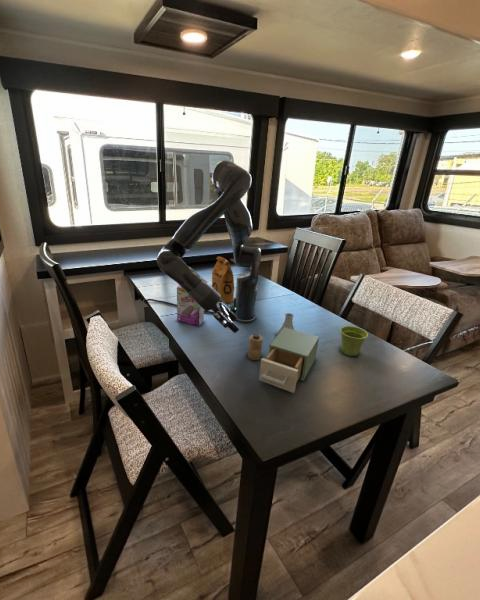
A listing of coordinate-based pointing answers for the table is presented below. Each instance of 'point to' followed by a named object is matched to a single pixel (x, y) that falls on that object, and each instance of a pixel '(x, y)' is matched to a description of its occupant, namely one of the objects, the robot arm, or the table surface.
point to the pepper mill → (255, 347)
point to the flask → (287, 322)
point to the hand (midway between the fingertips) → (236, 325)
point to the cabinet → (297, 346)
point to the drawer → (281, 369)
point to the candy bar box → (188, 308)
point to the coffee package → (223, 280)
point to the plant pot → (352, 339)
